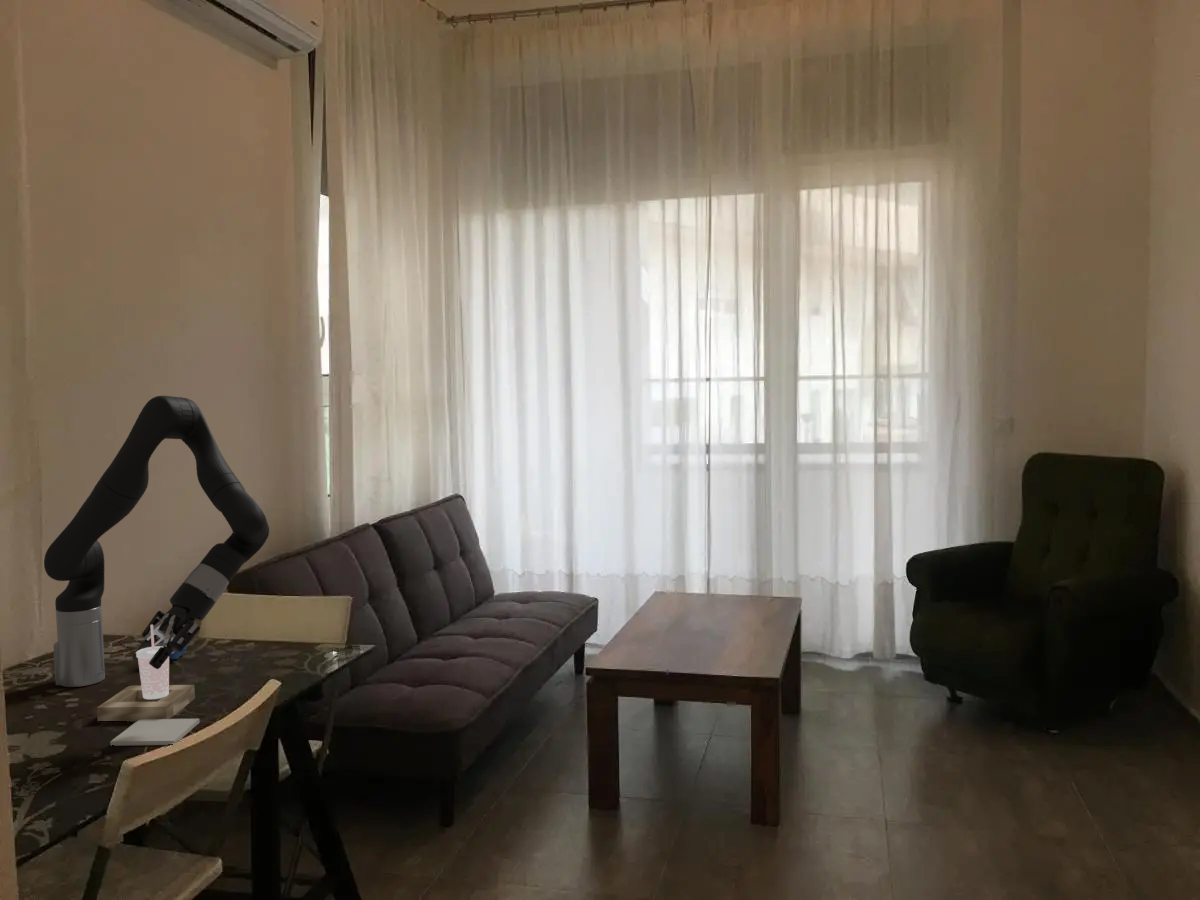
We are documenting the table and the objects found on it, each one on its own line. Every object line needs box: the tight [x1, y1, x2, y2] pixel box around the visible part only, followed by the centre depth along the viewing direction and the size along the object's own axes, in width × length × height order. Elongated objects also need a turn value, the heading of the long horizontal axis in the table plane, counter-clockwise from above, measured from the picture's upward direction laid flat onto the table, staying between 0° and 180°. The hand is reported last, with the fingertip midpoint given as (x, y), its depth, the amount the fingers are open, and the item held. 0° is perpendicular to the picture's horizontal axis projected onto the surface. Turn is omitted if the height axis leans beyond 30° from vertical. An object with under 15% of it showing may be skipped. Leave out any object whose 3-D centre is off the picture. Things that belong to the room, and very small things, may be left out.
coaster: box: [109, 718, 201, 747], centre depth 193 cm, size 12×12×1 cm
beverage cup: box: [135, 625, 170, 699], centre depth 192 cm, size 6×6×14 cm
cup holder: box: [96, 684, 196, 723], centre depth 207 cm, size 14×14×3 cm
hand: (145, 663), depth 191 cm, fingers closed on beverage cup, 6 cm apart
